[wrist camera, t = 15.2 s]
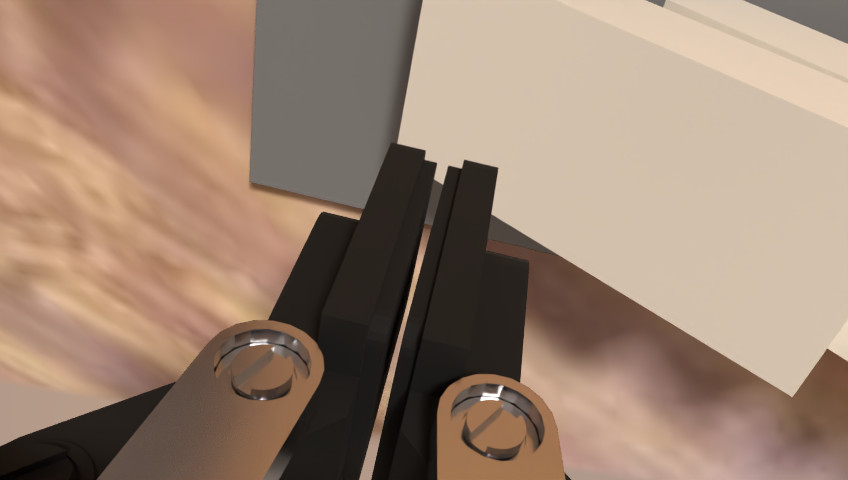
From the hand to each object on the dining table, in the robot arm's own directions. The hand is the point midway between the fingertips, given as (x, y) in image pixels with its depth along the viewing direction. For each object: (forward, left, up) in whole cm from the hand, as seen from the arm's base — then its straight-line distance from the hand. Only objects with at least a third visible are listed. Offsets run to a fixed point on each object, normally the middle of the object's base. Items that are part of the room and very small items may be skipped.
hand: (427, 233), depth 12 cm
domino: (-1, 0, -7) cm, 7 cm away
